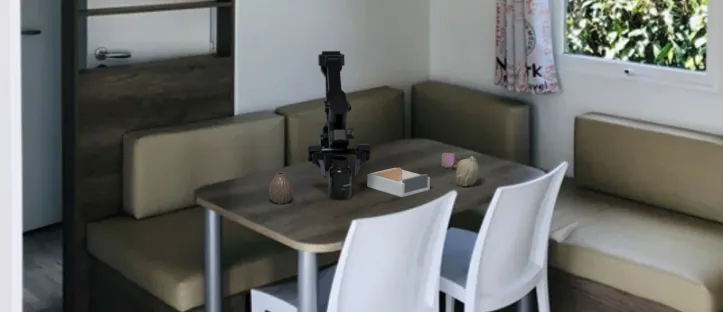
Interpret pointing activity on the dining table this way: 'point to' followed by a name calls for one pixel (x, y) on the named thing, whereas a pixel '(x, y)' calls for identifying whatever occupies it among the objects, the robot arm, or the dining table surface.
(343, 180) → the supplement bottle
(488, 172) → the dining table surface
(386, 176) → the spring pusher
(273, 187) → the vase
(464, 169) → the garlic bulb
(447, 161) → the perfume bottle
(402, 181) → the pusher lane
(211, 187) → the dining table surface
